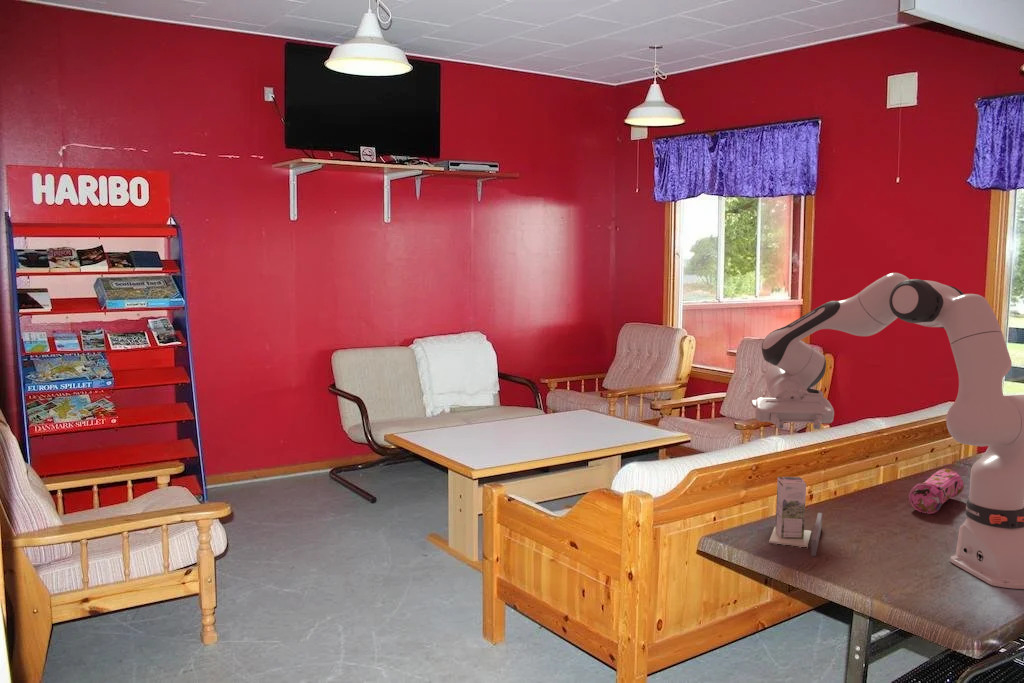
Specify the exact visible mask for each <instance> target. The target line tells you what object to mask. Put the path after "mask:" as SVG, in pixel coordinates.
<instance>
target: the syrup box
mask: <svg viewBox="0 0 1024 683" xmlns="http://www.w3.org/2000/svg"><path fill="white" fill-rule="evenodd" d="M776 485H777V486H776V506H775V507H776V508H775V510H776V511H775V526H776V529H775V530H776V532H777V533H778V535H779V536H780V537H781V538H800V539H801V538H804V530H805V521H806V519H805V518H806V496H807V483H806V482H805V480H804V479H803V477H801V476H777V483H776Z"/></svg>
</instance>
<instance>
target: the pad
mask: <svg viewBox="0 0 1024 683" xmlns="http://www.w3.org/2000/svg"><path fill="white" fill-rule="evenodd" d="M775 529H776V525H775V526H774V528H773V530H772V533H771V535H770V538H769V541H768V543H769V542H775V543H781V544H787V545H794V546H800V547H799V548H801V547H807V548H806V549H808V548H809V545H808V544H810V541H809V540H811V537H812V530H809V529H804V538H801V539H800V538H781V537H780V536H779V535H778V533H777V532H776V530H775Z"/></svg>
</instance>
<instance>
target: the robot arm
mask: <svg viewBox="0 0 1024 683" xmlns="http://www.w3.org/2000/svg"><path fill="white" fill-rule="evenodd" d="M989 303H990V302H989V301H988V300H987V299H986V298H985V297H984V296H982V295H980V294H976V293H965V292H963V291H962V290H961V289H958V288H956V287H955V286H953V285H952V286H951V285H947V284H944V283H941V282H938V281H934V280H926V279H925V280H924V279H921V278H920V279H919V278H912V279H910V277H907V276H906V275H904V274H902V273H899V272H891V273H888V274H886V275H883V276H882V277H880V278H878V279H876V280H875V281H874V282H872V283H870V284H869V285H867V286H866V287H864V288H863V289H862V290H861V291H860V292H858V293H857V294H855V295H853V296H852V297H851V296H850V297H848V298H846V299H842V300H830V301H827V302H826V303H823V304H821V305H819V306H818V307H816V308H814V309H812V310H811V311H809V312H807V313H805V314H804V315H802V316H801V317H799V318H797V319H795V320H794V321H791V322H790V323H789V324H787V325H785V326H782V327H780V328H777V329H775V330H772V331H771V332H770V333H768V335H766V337H765V338H764V339H763V341H762V343H761V354H762V356H763V360H764V361H766V362H767V363H769V364H771V365H769V367H768V369H767V372H766V376H765V381H766V388H767V390H768V393H769V395H770V397H758V398H756V399H752V401H751V406H752V407H753V408H754V409H755V410H754V415H755V416H754V417H755V419H756V421H758V422H762V423H763V422H765V423H767V422H768V423H769V422H770V423H772V424H773V425H775V426H776V429H784V423H800V424H801V423H804V424H805V423H806V424H807V423H808V424H812V428H813V430H821V426H822V424H832V423H833V422H834V417H835V410H834V407H833V405H832V404H831V402H830V401H829V400H828V399H827V398H826V397H825V396H824V392H823V391H822V390H820V389H814V388H813V387H815V386H816V385H817V384H819V382H820V381H821V380H822V379H823V378H824V376H825V373H826V369H827V360H826V355H824V354H823V353H821V352H820V351H818V350H817V349H815V348H814V347H812V346H810V345H809V344H807V343H806V342H804V341H803V340H804V339H805V338H807V337H809V336H811V335H812V334H814V333H815V332H818V331H820V330H834V331H839V332H844V333H846V334H849V335H852V336H857V337H870V336H874V335H876V334H878V333H880V332H882V330H884V329H885V328H887V327H888V326H889V325H891V324H892V323H893V322H894V321H896V320H897V319H900V320H901V321H903V322H906V323H910V324H916V325H919V326H923V327H928V328H940V329H944V330H945V332H946V335H947V338H948V341H949V344H950V349H951V353H952V356H953V358H954V363H955V365H956V366H955V367H956V370H957V374H958V391H957V396H956V398H955V401H954V403H953V404H952V405H951V406H950V408H948V411H947V414H946V420H945V424H946V428H947V431H948V433H949V435H950V436H951V438H952V439H953V440H954V441H956V442H958V443H959V444H964V445H968V446H975V447H987V449H986V451H985V452H984V453H983V455H982V456H981V457H980V458H979V459H978V460H976V461H975V462H974V463H973V464H972V467H971V469H970V477H969V478H970V479H969V493H968V499H967V500H966V504H965V516H966V519H965V520H964V522H963V523H962V524H961V525H960V526H959V530H958V536H957V543H956V550H955V554H954V555H951V556H950V559H949V562H950V563H952V564H953V565H955V566H957V567H959V568H960V569H962V570H964V571H966V572H967V573H969V574H971V575H972V576H974V577H976V578H978V579H980V580H982V581H983V582H984V583H987V584H988V585H991V586H994V587H997V588H998V587H999V588H1000V587H1001V588H1004V589H1005V588H1007V589H1017V590H1024V394H1013V395H1012V394H1011V395H1009V394H1008V395H1004V393H1003V378H1004V377H1005V376H1006V375H1008V373H1009V372H1010V370H1011V368H1012V359H1011V356H1010V353H1009V349H1008V347H1007V344H1006V340H1005V337H1004V335H1003V331H1002V329H1001V325H1000V323H999V321H998V319H997V316H996V314H995V312H994V310H993V309H992V307H991V305H990V304H989Z"/></svg>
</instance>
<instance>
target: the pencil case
mask: <svg viewBox="0 0 1024 683" xmlns="http://www.w3.org/2000/svg"><path fill="white" fill-rule="evenodd" d="M964 488H965V484H964V482H963V478H962V477H961V475H959V474H958V473H957V472H956V471H955V470H953V469H950V468H942V469H939V470H937V471H936V472H934V473H933V474H932V475H930V477H928V479H926V480H925V481H924V482H922V483H917V484H916V485H915V486H913V487H912V488H911V489H910V491H909V494H908V502H909V504H910V506H911V507H912V508H913V509H914V510H916V511H917V512H919V513H921V512H922V514H926V513H927V515H931V514H936V513H937V512H939V510H940V509H941V508H942V506H943V504H944V503H945V502H947V501H948V500H950V499H951V498H954V497H957V496H958V495H959V494H961V493H962V492H963V491H964Z"/></svg>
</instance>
